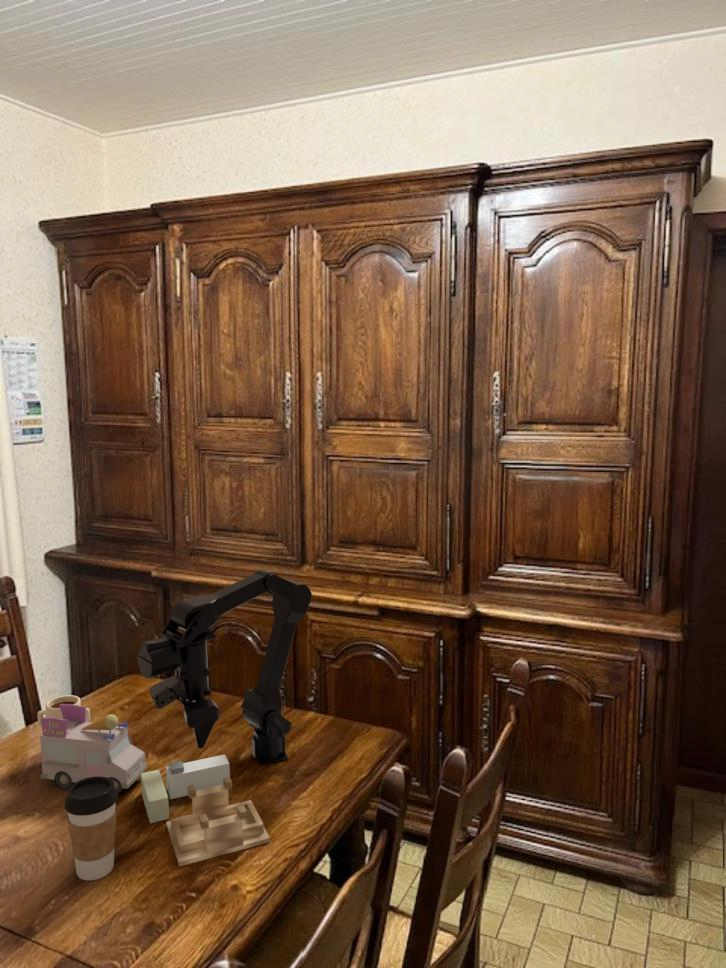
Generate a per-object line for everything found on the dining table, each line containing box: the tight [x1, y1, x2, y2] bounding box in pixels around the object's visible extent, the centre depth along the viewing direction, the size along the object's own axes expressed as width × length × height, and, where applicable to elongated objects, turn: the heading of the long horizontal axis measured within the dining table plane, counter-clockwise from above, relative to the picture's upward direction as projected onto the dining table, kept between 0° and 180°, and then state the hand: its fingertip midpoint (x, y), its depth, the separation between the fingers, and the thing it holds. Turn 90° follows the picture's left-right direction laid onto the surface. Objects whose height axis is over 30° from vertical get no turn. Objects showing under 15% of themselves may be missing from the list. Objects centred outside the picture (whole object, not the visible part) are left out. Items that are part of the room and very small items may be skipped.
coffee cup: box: [64, 776, 119, 881], centre depth 121 cm, size 8×8×15 cm
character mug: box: [37, 694, 91, 726], centre depth 158 cm, size 11×7×13 cm, turn 98°
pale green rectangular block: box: [140, 769, 170, 824], centre depth 140 cm, size 4×11×4 cm, turn 25°
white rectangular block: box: [165, 754, 231, 800], centre depth 146 cm, size 12×4×6 cm, turn 114°
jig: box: [166, 776, 271, 867], centre depth 131 cm, size 16×13×7 cm
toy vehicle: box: [39, 704, 148, 795], centre depth 148 cm, size 9×20×15 cm, turn 78°
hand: (196, 737), depth 145 cm, fingers open, 9 cm apart
